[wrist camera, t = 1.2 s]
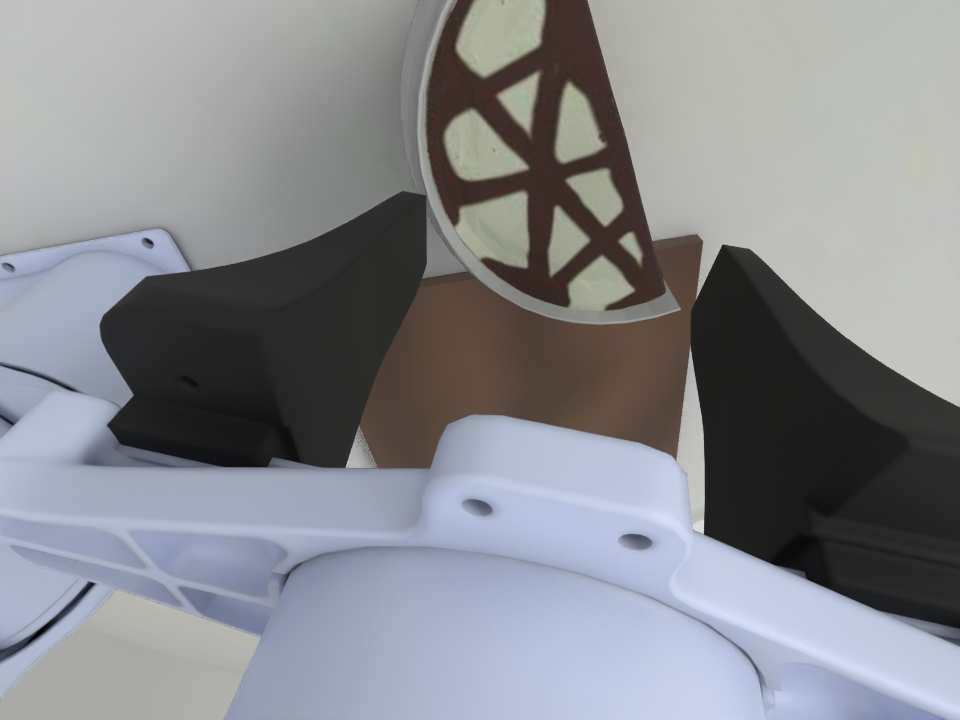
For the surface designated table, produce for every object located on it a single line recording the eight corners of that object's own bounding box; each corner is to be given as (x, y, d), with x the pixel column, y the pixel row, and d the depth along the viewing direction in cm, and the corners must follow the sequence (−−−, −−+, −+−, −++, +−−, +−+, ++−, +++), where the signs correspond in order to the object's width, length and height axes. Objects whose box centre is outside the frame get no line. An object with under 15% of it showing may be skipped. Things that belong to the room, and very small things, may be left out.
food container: (353, -23, 19) (283, -1, 11) (508, -119, 17) (557, -173, 9) (491, 254, 26) (509, 387, 18) (609, 202, 24) (684, 322, 17)
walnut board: (404, 518, 39) (403, 527, 39) (309, 297, 27) (306, 305, 26) (668, 482, 38) (672, 491, 38) (697, 233, 26) (703, 241, 25)
